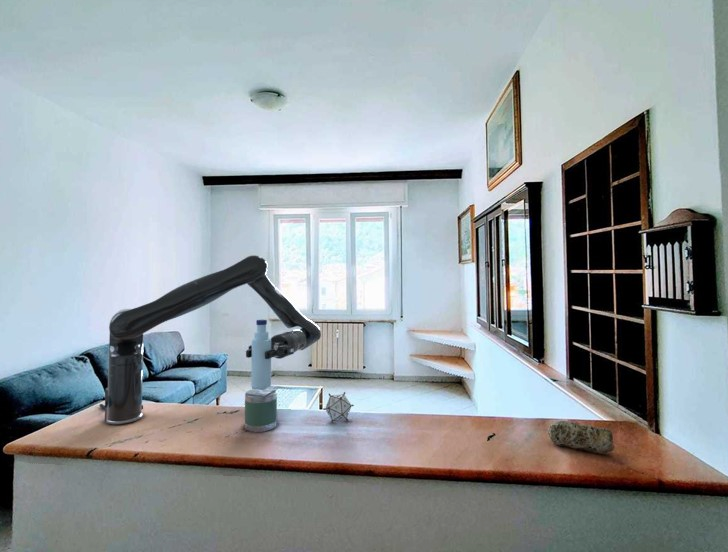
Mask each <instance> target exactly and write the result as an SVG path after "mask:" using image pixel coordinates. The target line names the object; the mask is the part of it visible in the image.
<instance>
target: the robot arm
mask: <svg viewBox="0 0 728 552" xmlns="http://www.w3.org/2000/svg"><path fill="white" fill-rule="evenodd" d="M267 271H268V263H267V261H266V259H265V258H264V257H263V256H260V255H254V254H253V255H248V256H246V257H244V258H243V259H242V260H239V261H238V262H236V263H234V264H233V265H230V266H228V267H227V268H224V269H222V270H221V269H220V270H219V271H215V272H211V273H209V274H207V275H204V276H201V277H198V278H195V279H193V280H190V281H188V282H185V283H183V284H182V285H179V286H177V287H175V288H174V289H171V290H170V291H168V292H167V293H165V294H163V295H162V296H160V297H159V298H157V299H155V300H153V301H151V302H148V303H145V304H143V305H140V306H137V307H133V308H123V309H120V310H118V311H116V313H114V314H113V315H112V316H111V319H110V320H109V323H108V324H109V325H108V330H109V339H108V341H109V342H108V343H109V345H108V360H107V361H108V362H107V363H108V365H107V369H108V370H107V387H106V388H105V391H104V404H103V403H100V404H99V407H100V408H101V409H103V410H104V421H105V422H106V424H109V425H126V424H130V423H133V422H136V421H139V420H140V419H142V418H143V410H144V405H143V379H144V377H143V373H144V371H143V369H144V334H145V333H147V332H148V331H150V330H152V329H154V328H156V327H158V326H159V325H162V324H163V323H165V322H168V321H170V320H174V319H176V318H178V317H182V316H185V315H186V314H189V313H192V312H193V311H196V310H198V309H200V308H202V307H205V306H207V305H209V304H211V303H213V302H214V301H217V300H218V299H219V298H221V297H223V296H224V295H226V294H227V293H228V292H231V291H232V290H234V289H237V288H239V287H242V286H244V285H248V287H250V288H251V289H252V290H254V292H256V293H257V294H258V295H259V296H260V297H261V298H262V299H263V301H264V302H265V303H266V304H267V305H268V307H269V308H270V309H271V310H272V311H273V313H274V314H275V315H276V317H277V318H278V319H279V320H280V321H281V322H282V323H283V325H284V327H286V328H287V329H293V328H295V327H299V328H300V329H293V330H290V331H285V332H281V333H278V334H275V335H273V336H272V337H271V338H270V339H271V350H268V351H266V352H265V359H270V358H271V359H272V358H274V359H278V360H280V359H284V358H286V357H288V356H291V355H294V354H295V353H296V352H298V351H300V352H301V351H304V350H306V349H308V348H310V346H312V345H313V344H315V343H316V342H319V340H320V339H321V338H322V331H321V329H320V327H319V326H318V325H317V324H315V322H313V321H312V320H310V319H308V318H307V317H306V316H305V315H303V314H302V313H301V312H300V310H299V309H298V308H297V307H296V306H295V305H294V304H293V302H292V301H291V300H290V299H289V297H287V296H286V295H285V294H284V293H282V292H281V291H280V290H279V289H278V288H277V287H275V285H274V284H273V283H272V282H271V281H270V279H269V278H268V276H267V275H266V274H267ZM245 357H246V358H248V359H249V358H252V344H250V345H249V346H248V349H246V350H245Z"/></svg>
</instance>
